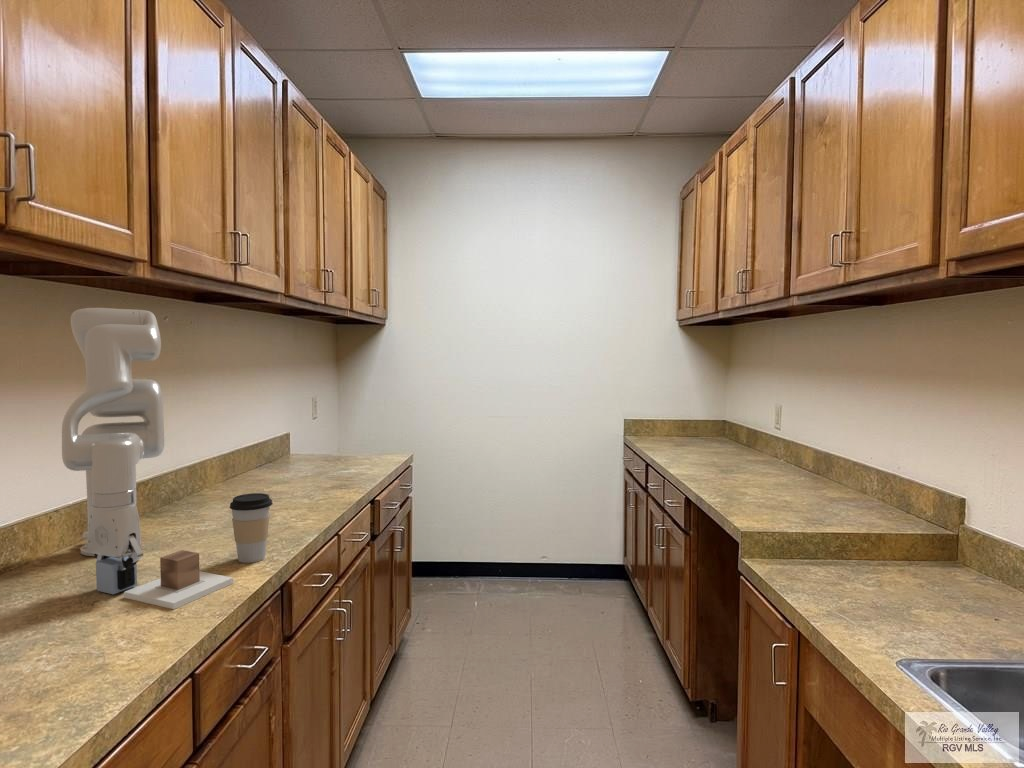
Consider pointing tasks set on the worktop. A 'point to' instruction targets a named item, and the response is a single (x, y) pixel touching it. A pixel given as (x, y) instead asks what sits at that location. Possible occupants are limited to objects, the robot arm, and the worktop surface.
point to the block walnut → (179, 569)
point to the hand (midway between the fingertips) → (116, 583)
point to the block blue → (110, 575)
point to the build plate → (177, 591)
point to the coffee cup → (251, 525)
